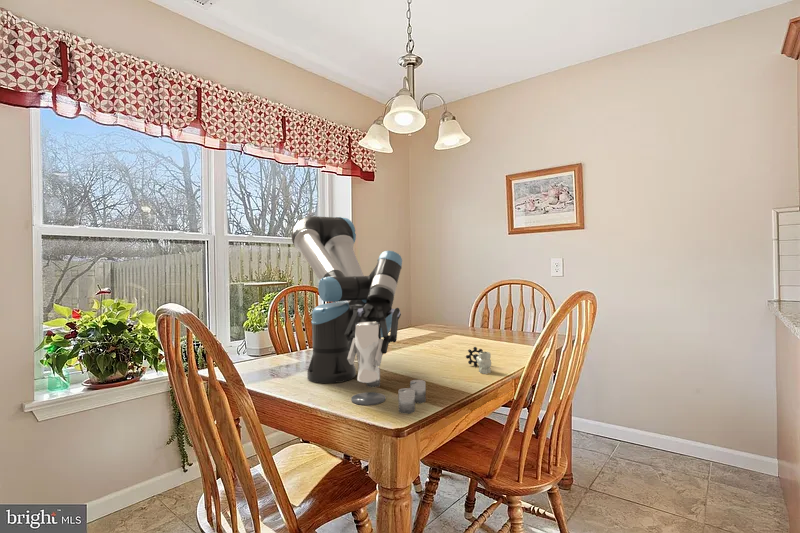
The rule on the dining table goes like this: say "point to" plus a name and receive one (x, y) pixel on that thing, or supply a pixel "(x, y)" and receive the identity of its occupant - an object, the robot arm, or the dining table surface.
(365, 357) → the beer glass
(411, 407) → the cylinder
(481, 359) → the valve
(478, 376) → the dining table surface
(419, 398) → the cylinder
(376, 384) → the spacer
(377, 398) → the coaster
